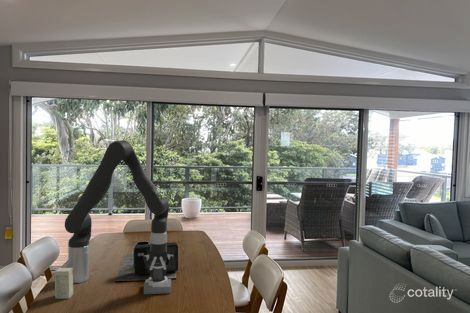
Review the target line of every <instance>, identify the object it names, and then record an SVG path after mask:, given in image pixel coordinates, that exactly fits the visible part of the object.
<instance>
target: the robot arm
mask: <svg viewBox="0 0 470 313" xmlns="http://www.w3.org/2000/svg"><path fill="white" fill-rule="evenodd" d="M122 161H123V162H124V164H125V165H126V166H127V167H128V169H129V171H130V173H131V176H132V180H133V182H134V185H135V186H136V188H137V189H138V191H139V193H140V194H141V195H142V197H143V198H144V202H145V203H146V206H147V209H148V210H149V211H150V212H151V214H153V219H152V220H151V225H150V226H151V228H150V240H149V242H150V243H149V244H150V254H149V255H144V257H143V259H144V263H145V267H146V269H149V270H150V274H149V277H151V278H153V266H154V264H155V263H162V266H163V277H165V276H166V277H167V272H166V269H168V268H170V266H171V263H172V259H173V255H172V254H171V255H169V254H168V253H167V243H168V233H167V231H168V230H167V229H168V228H167V226H168V223H167V222H168V216H169V211H170V204H169V201H168V199H167V198H166V197H159V195H158V189H157V187H156V185H155V184H154V182H153V180H151V178H150V177H149V176H148V174H147V172H146V170H145V169H144V167H143V165H142V163H141V161H140V159H139V158H138V156H137V153H136V151H135V150H134V147H133V146H132V144H131V143H130V142H129V141H127V140H115V141H113V142H110V144H109V145H108V146H107V147H106V150H105V152H104V155H103V157H102V160H101V161H100V163H99V165H98V167H97V169H96V171H95V172H94V173H93V176H92V177H91V178H90V180H89V182H88V184H86V186H85V188H84V191H83V193H82V194H81V195H80V198H79V199H78V201H77V203H76V204H75V205H74V207H73V208H72V210H71V211H70V213H68V215H67V216H66V218H65V219H64V220H65V221H64V229H65V230H66V231H67V233H69V234H72V236H71V237H70V238H69V240H68V245H67V246H68V248H67V253H68V255H67V256H68V258H67V259H68V261H67V262H66V268H73V284H80V283H84V282H86V281H88V280H89V277H90V276H89V275H90V269H89V268H90V240H91V237H92V217H91V215H90V214H89V213H90V211H92V209H94V208H95V207H96V206H97V205H99V203H100V202H101V201H102V200H103V199H104V198H105V196H106V195H107V193H108V191H109V190H110V187H111V185H112V181H113V174H114V172H115V170H116V169H117V167H118V166H119V164H120V163H121V162H122ZM149 257H150V258H151V260H152V263H151V266H150V265H149V264H148V259H149ZM167 257H168V259H169V263H168V265H166V263H165V259H166V258H167Z"/></svg>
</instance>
